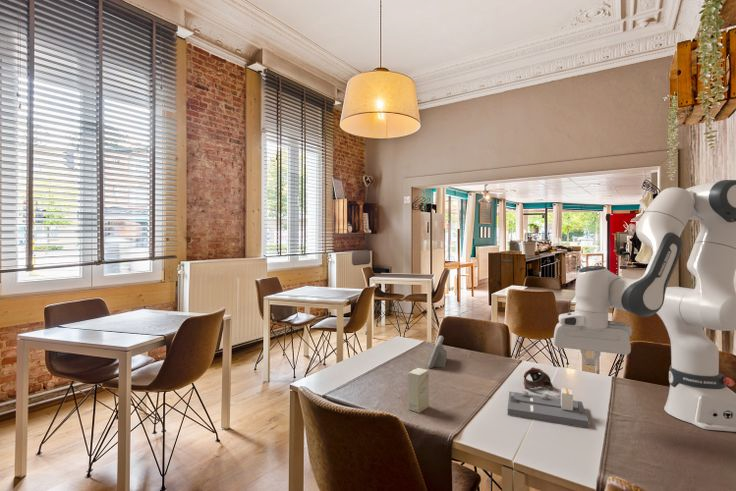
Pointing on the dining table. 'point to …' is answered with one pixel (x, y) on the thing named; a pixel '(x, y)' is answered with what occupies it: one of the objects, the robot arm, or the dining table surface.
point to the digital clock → (438, 354)
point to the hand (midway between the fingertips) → (589, 364)
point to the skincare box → (418, 389)
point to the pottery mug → (537, 379)
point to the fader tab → (566, 399)
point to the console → (546, 409)
